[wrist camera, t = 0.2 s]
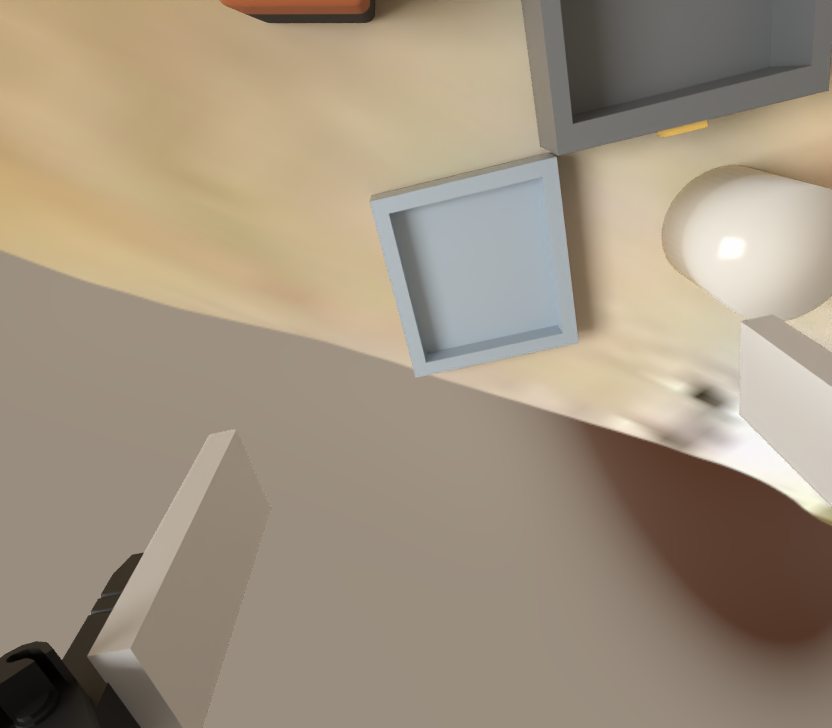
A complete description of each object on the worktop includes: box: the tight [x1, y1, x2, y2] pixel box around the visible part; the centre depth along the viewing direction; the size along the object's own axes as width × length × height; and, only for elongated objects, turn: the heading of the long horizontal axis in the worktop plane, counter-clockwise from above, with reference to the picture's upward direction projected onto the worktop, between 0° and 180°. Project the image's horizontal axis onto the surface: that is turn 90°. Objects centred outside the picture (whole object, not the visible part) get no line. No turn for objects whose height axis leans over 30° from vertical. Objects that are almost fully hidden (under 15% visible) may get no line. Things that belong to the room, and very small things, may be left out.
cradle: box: [521, 0, 832, 156], centre depth 32 cm, size 12×15×5 cm
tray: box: [370, 153, 579, 377], centre depth 40 cm, size 13×12×2 cm
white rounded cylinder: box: [662, 166, 832, 321], centre depth 37 cm, size 8×8×8 cm
